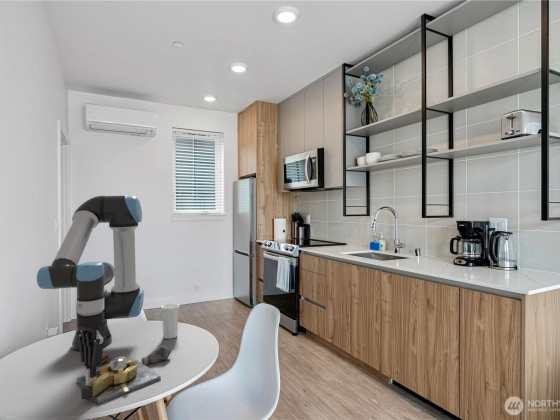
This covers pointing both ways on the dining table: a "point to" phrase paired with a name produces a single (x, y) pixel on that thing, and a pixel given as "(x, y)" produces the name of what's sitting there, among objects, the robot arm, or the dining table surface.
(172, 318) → the cup
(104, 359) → the pastry
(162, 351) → the stone
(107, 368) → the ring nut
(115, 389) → the base plate
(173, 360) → the dining table surface
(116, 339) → the dining table surface
